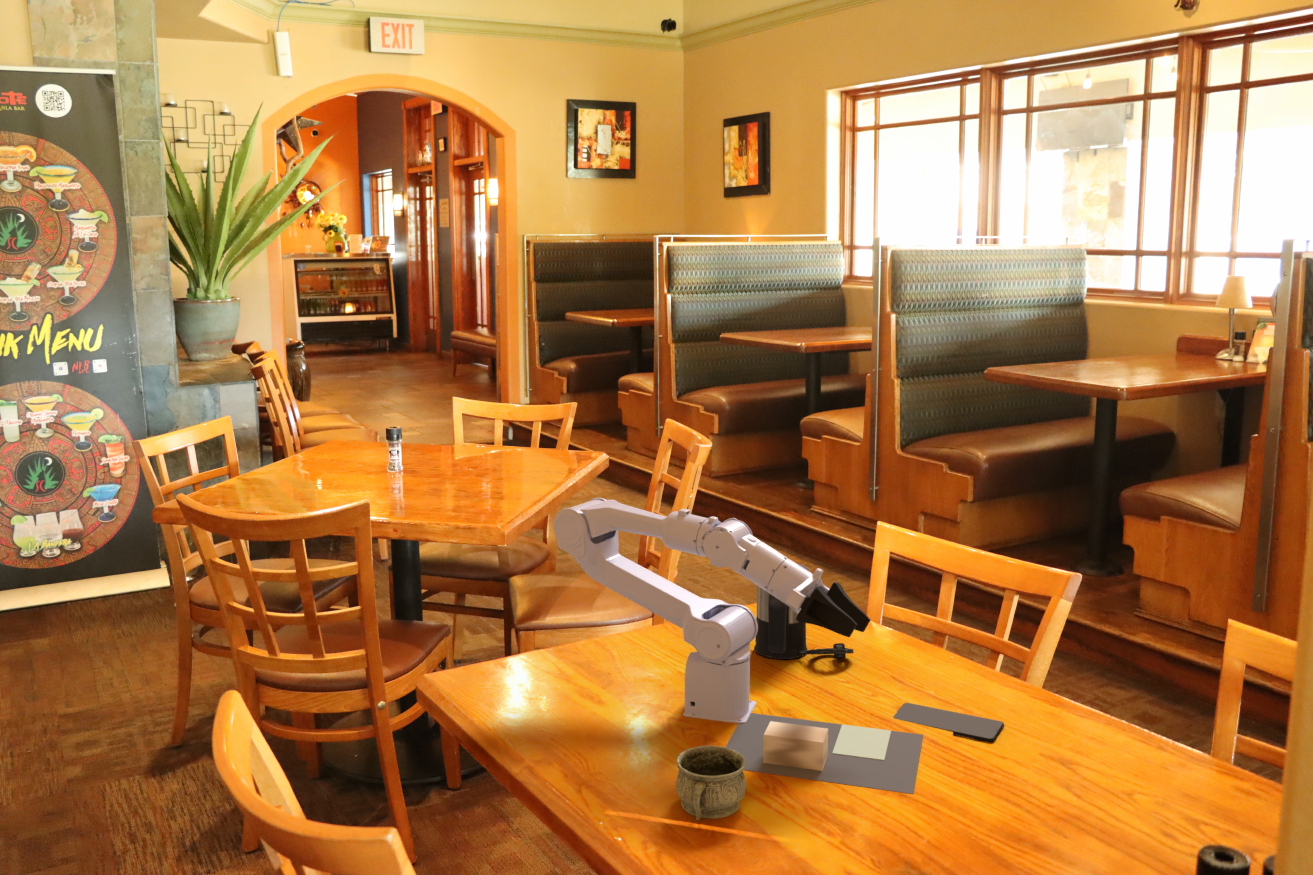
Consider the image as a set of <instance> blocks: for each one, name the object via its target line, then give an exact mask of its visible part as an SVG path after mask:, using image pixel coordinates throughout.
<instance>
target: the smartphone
mask: <svg viewBox="0 0 1313 875" xmlns="http://www.w3.org/2000/svg"><path fill="white" fill-rule="evenodd" d="M893 719H895V720H899V721H903V722H907V723H912V724H916V725H920V726H921V725H922V726H926V727H930V728H932V729H933V728H934V729H938V730H941V731H942V730H943V731H948V732H951V733H952V735H954V736H957V737H958V736H959V737H961V738H962V737H963V738H968V739H971V740H975V741H980V742H981V741H982V742H985V743H990V744H991V743H995V742H996V740H997V739H998V737H999V736H1000V734H1001V732H1002V730H1003V728H1004V727H1005V724H1004V722H1003V721H1001V720H997V719H991V718H986V717H982V716H981V717H980V716H976V715H971V714H967V713H966V714H965V713H961V712H956V711H951V710H945V709H941V708H936V707H931V706H925V705H921V704H916V703H910V702H904V703H903V704H902V705H901V706H900V707H899V708H898V710H896V713H895V714H894V715H893Z"/></svg>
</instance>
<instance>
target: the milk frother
mask: <svg viewBox="0 0 1313 875" xmlns="http://www.w3.org/2000/svg"><path fill="white" fill-rule="evenodd" d="M797 564H798V565H800V566H801V567H803V568H804V569H806V570H808V571H809V572H810V569H809V567H807V566H806V565H804V564H800V563H797ZM797 615H798V613H796V612H794V611H793V610H792V608H791V607H789V606H788V605H786V604H785V603H783V602H782V601H780V600H778V599H777V598H775V597H774V596H772V595H771V594H769V593H768V592H766V591H765V590H763V589H762V588H760V587H759V586H757V585H756V616H755V617H756V620H757V624H758V631H757V634H756V637H755V638H754V640H755V641H754V642H755V644H754V647H753V648H754V651H755V653H757V654H758V655H760V656H763V657H766V658H771V659H778V660H779V659H780V660H790V659H797V658H801V657H803V656H805V655H833V656H834V659H836V660H840V659H842V660H843V659H845V658H846V657H847V656H846V654H854V648H848V647H846V645H845V643H843V642H841V643H834V644H833V646H832V647H829V648H828V647H827V648H816V649H814V648H813V649H808V647H807V623H801V622H798V621H796V617H797Z"/></svg>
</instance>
